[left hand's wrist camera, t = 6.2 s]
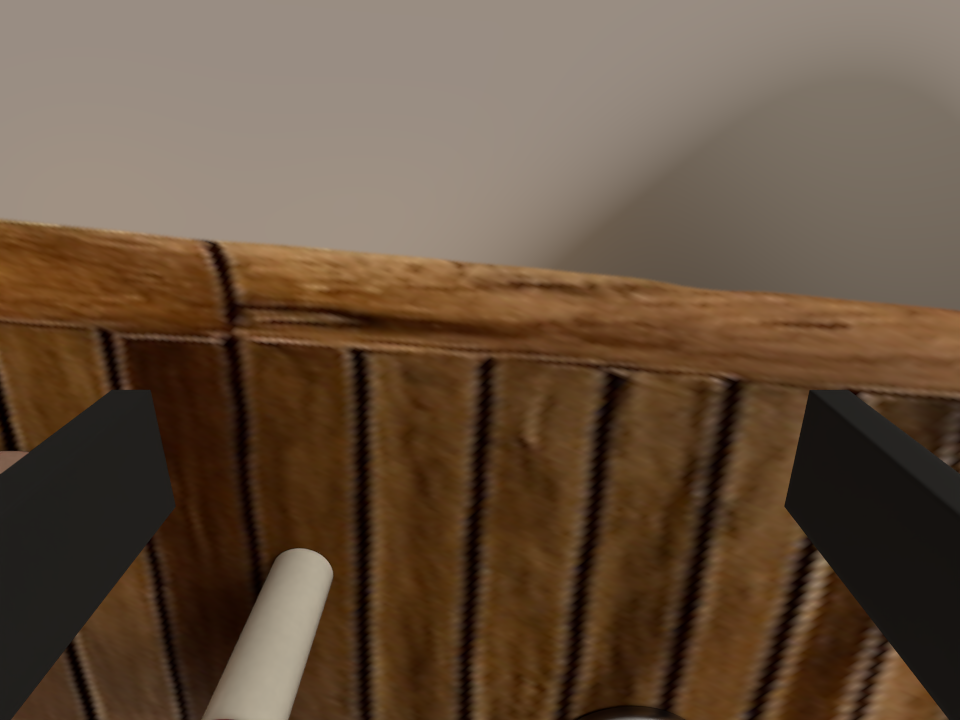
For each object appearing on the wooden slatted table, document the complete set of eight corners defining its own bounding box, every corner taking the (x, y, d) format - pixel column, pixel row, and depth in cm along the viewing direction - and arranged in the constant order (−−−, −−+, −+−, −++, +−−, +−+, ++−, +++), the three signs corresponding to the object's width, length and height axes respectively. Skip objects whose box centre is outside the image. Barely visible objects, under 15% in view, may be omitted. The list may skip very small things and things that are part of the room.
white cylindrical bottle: (282, 539, 48) (188, 743, 32) (341, 560, 48) (277, 770, 33) (264, 584, 49) (166, 799, 34) (321, 604, 50) (250, 823, 35)
